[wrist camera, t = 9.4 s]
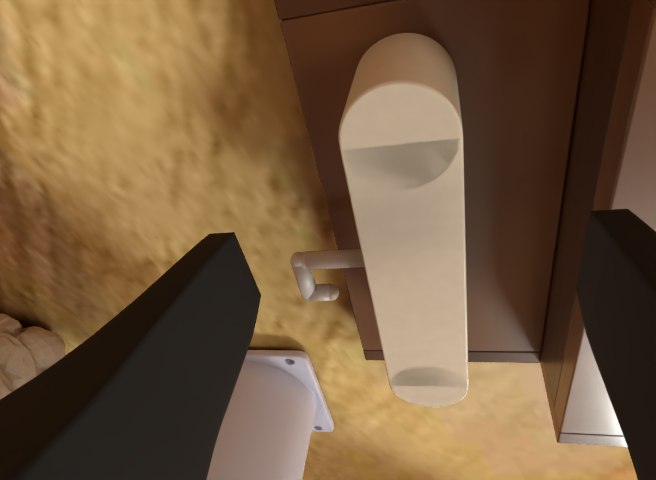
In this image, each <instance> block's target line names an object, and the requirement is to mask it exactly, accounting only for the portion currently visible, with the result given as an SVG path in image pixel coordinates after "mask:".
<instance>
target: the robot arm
mask: <svg viewBox="0 0 656 480" xmlns="http://www.w3.org/2000/svg"><path fill="white" fill-rule="evenodd" d="M576 291H577V296H578V301H579V305H580V310H581V315H582V319H583V323H584V327H585V332H586V336H587V338H588V341H589V344H590V347H591V350H592V352H593V355H594V358H595V361H596V363H597V366H598V369H599V371H600V374H601V377H602V380H603V382H604V385H605V388H606V390H607V393H608V396H609V398H610V401H611V404H612V406H613V409H614V412H615V414H616V417H617V420H618V422H619V425H620V428H621V430H622V433H623V436H624V438H625V441H626V444H627V446H628V450H629V453H630V456H631V459H632V462H633V465H634V468H635V471H636V474H637V478H638V480H656V231H655V230H653V229H652V228H651V227H650V226H649V225H647V224H646V223H645V222H644V221H643V220H641V219H640V218H639V217H638V216H637V215H635V214H634V213H633V212H631V211H630V210H629V209H613V210H597V211H590V216H589V221H588V227H587V232H586V237H585V242H584V248H583V253H582V258H581V263H580V269H579V274H578V279H577V285H576ZM260 298H261V294H260V292H259V289H258V287H257V285H256V282H255V280H254V278H253V275H252V273H251V271H250V268H249V266H248V263H247V261H246V259H245V256H244V254H243V252H242V249H241V247H240V245H239V242H238V240H237V238H236V235H235V233H234V232H232V233H215V234H209V235H208V236H206V237H205V238H204V239H203V240H201V241H200V242H199V243H198V244H197V245H196V246H194V247H193V248H192V249H191V250H190V251H189V252H188V253H187V254H185V255H184V256H183V257H182V258H181V259H180V260H179V261H178V262H177V263H175V264H174V265H173V266H172V267H171V268H170V269H169V270H168V271H167V272H166V273H165V274H163V275H162V276H161V277H160V278H159V279H158V280H157V281H156V282H155V283H153V284H152V285H151V286H150V287H149V288H148V289H147V290H146V291H145V292H143V293H142V294H141V295H140V296H139V297H138V298H137V299H136V300H134V301H133V302H132V303H131V304H130V305H128V306H127V307H126V308H125V309H124V310H122V311H121V312H120V313H119V314H118V315H116V316H115V317H114V318H113V319H112V320H111V321H109V322H108V323H107V324H106V325H105V326H103V327H102V328H101V329H100V330H99V331H97V332H96V333H95V334H94V335H92V336H91V337H90V338H89V339H87V340H86V341H85V342H83V343H82V344H81V345H79V346H78V347H77V348H75V349H74V350H73V351H71V352H70V353H69V354H67V355H66V356H65V357H63V358H62V359H60V360H59V361H58V362H56V363H55V364H53V365H52V366H51V367H49V368H48V369H46V370H45V371H44V372H42V373H41V374H39V375H38V376H36V377H35V378H33V379H31V380H30V381H28V382H27V383H25V384H24V385H22V386H21V387H19V388H18V389H16V390H14V391H13V392H11V393H10V394H8V395H7V396H5V397H4V398H2V399H0V480H302V477H303V472H304V467H305V462H306V457H307V452H308V446H309V441H310V436H311V431H316V432H331V431H333V430H334V421H333V419H332V416H331V414H330V411H329V408H328V406H327V403H326V400H325V398H324V395H323V393H322V390H321V387H320V385H319V382H318V379H317V377H316V374H315V372H314V369H313V366H312V364H311V361H310V358H309V356H308V355H307V354H306V353H305V352H303V351H299V350H248V348H249V345H250V342H251V339H252V336H253V332H254V328H255V323H256V319H257V314H258V308H259V303H260Z"/></svg>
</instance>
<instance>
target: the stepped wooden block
mask: <svg viewBox="0 0 656 480" xmlns="http://www.w3.org/2000/svg"><path fill="white" fill-rule="evenodd" d="M274 1H275V5H276V9H277V13H278V17H279V19H281V22H280V24H281V28H282V32H283V36H284V40H285V44H286V48H287V52H288V56H289V60H290V64H291V68H292V72H293V76H294V80H295V83H296V87H297V91H298V95H299V99H300V103H301V107H302V111H303V115H304V119H305V123H306V127H307V131H308V135H309V139H310V142H311V146H312V150H313V154H314V158H315V162H316V166H317V170H318V174H319V178H320V182H321V186H322V190H323V194H324V198H325V201H326V205H327V209H328V213H329V217H330V221H331V225H332V229H333V233H334V237H335V241H336V245H337V249H338V250H351V249H361V247H360V242H359V237H358V233H357V228H356V223H355V218H354V214H353V209H352V204H351V200H350V195H349V190H348V185H347V181H346V176H345V171H344V166H343V162H342V157H341V152H340V147H339V140H338V131H339V125H340V122H341V118H342V115H343V112H344V108H345V105H346V102H347V99H348V95H349V92H350V89H351V85H352V82H353V79H354V76H355V72H356V69H357V66H358V64H359V62H360V60H361V58H362V57H363V55H364V54H365V53H366V52H367V50H368V49H369V48H370V47H371V46H373V45H374V44H375V43H377V42H378V41H380V40H381V39H383V38H385V37H388V36H391V35H394V34H399V33H416V34H421V35H424V36H427V37H429V38H431V39H433V40H435V41H436V42H438V43H439V44H440V45H441V46H442V47H443V48H444V49H445V50H446V51H447V52H448V54H449V55H450V57H451V59H452V61H453V63H454V66H455V70H456V76H457V85H458V93H459V102H460V110H461V119H462V128H463V153H464V199H465V245H466V291H467V337H468V362H516V363H539V362H540V363H541V368H542V373H543V378H544V382H545V387H546V392H547V397H548V401H549V406H550V411H551V415H552V420H553V425H554V430H555V434H556V439H557V442H558V443H568V444H586V445H603V446H621V447H628V446H627V444H626V441H625V438H624V436H623V433H622V430H621V428H620V425H619V422H618V420H617V417H616V414H615V412H614V409H613V406H612V404H611V401H610V398H609V396H608V393H607V390H606V388H605V385H604V382H603V380H602V377H601V374H600V371H599V369H598V366H597V363H596V361H595V358H594V355H593V352H592V350H591V347H590V344H589V341H588V338H587V336H586V332H585V327H584V323H583V319H582V315H581V310H580V305H579V301H578V296H577V291H576V285H577V279H578V274H579V269H580V263H581V258H582V253H583V248H584V242H585V237H586V232H587V227H588V221H589V216H590V211H597V210H613V209H629V210H630V211H631V212H633V213H634V214H635V215H637V216H638V217H639V218H640V219H641V220H643V221H644V222H645V223H646V224H647V225H649V226H650V227H651V228H652V229H653V230H655V231H656V0H274ZM343 272H344V276H345V280H346V284H347V288H348V292H349V296H350V300H351V304H352V308H353V312H354V315H355V319H356V323H357V327H358V331H359V335H360V339H361V343H362V347H363V351H364V355H365V359H366V360H384V355H383V351H382V346H381V341H380V337H379V332H378V327H377V322H376V318H375V313H374V308H373V303H372V299H371V294H370V289H369V285H368V280H367V275H366V270H365V267H354V268H343Z"/></svg>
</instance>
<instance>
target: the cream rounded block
mask: <svg viewBox="0 0 656 480" xmlns="http://www.w3.org/2000/svg"><path fill="white" fill-rule="evenodd" d="M338 140H339V147H340V152H341V157H342V162H343V166H344V171H345V176H346V181H347V185H348V190H349V195H350V200H351V204H352V209H353V214H354V218H355V223H356V228H357V233H358V237H359V242H360V247H361V249H351V250H329V251H307V252H303V253H302V252H296V253H294V254H293V255H292V256H291V258H290V263H291V266H292V269H293V272H294V274H295V277H296V280H297V283H298V286H299V289H300V292H301V295H302V297H303V298H304V299H305V300H307V301H332V300H335V299H336V298H337V297H338V296H339V289H338V287H337V286H336V285H334V284H315V281H314V277H313V274H312V271H311V269H325V268H354V267H365V270H366V275H367V280H368V285H369V289H370V294H371V299H372V303H373V308H374V313H375V318H376V322H377V327H378V332H379V337H380V341H381V346H382V351H383V355H384V360H385V365H386V370H387V374H388V379H389V384H390V387H391V389H392V391H393V392H394V394H395V395H397V396H398V397H399V398H401V399H402V400H404V401H406V402H408V403H411V404H414V405H418V406H424V407H443V406H448V405H452V404H455V403H457V402H459V401H460V400H462V399H463V398H464V397H465V396H466V394H467V392H468V388H469V382H468V337H467V291H466V245H465V199H464V153H463V128H462V119H461V110H460V102H459V93H458V85H457V76H456V70H455V66H454V63H453V61H452V59H451V57H450V55H449V54H448V52H447V51H446V50H445V49H444V48H443V47H442V46H441V45H440V44H439V43H438V42H436V41H435V40H433V39H431V38H429V37H427V36H424V35H421V34H416V33H399V34H394V35H391V36H388V37H385V38H383V39H381V40H380V41H378V42H377V43H375V44H374V45H373V46H371V47H370V48H369V49H368V50H367V52H366V53H365V54H364V55H363V57H362V58H361V60H360V62H359V64H358V66H357V69H356V72H355V76H354V79H353V82H352V85H351V89H350V92H349V95H348V99H347V102H346V105H345V108H344V112H343V115H342V118H341V122H340V125H339V131H338Z"/></svg>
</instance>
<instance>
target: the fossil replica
mask: <svg viewBox="0 0 656 480" xmlns="http://www.w3.org/2000/svg"><path fill="white" fill-rule="evenodd" d="M65 356H66V355H65V344H64V342H63V340H62V339H61V338H60V337H59V336H58V335H57V334H56V333H54V332H51V331H48V330H45V329H43V328H41V327H36V326H33V327H28V328H22V325H21V324H20V323H19V321H17V320H15V319H13V318H12V317H10V316H8V315H6V314H1V313H0V399H2V398H4V397H5V396H7V395H8V394H10V393H11V392H13V391H14V390H16V389H18V388H19V387H21V386H22V385H24V384H25V383H27V382H28V381H30V380H31V379H33V378H35V377H36V376H38V375H39V374H41V373H42V372H44V371H45V370H46V369H48V368H49V367H51V366H52V365H53V364H55V363H56V362H58V361H59V360H60V359H62V358H63V357H65Z"/></svg>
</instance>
